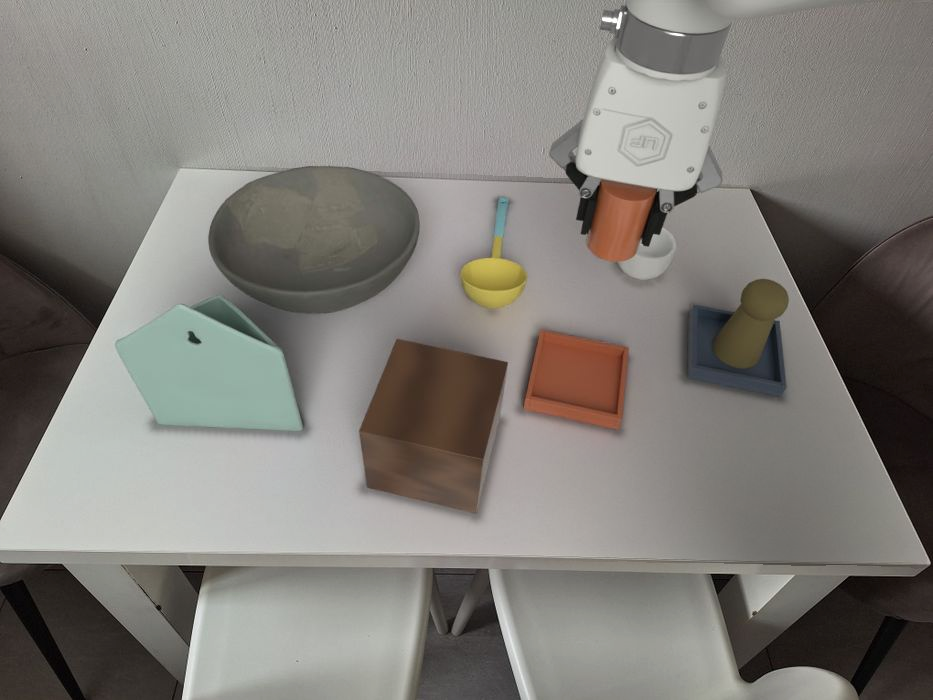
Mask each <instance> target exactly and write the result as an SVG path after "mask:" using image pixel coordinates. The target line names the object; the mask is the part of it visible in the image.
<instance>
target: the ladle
mask: <svg viewBox="0 0 933 700" xmlns="http://www.w3.org/2000/svg"><path fill="white" fill-rule="evenodd" d="M509 201H510V199H509V198H508V197H505V196H501V197H499V198H498V202H497V208H496V214H495V223H494V230H493V242H492V250H491V257H482V258H477V259H473V260H472V261H469V262H467V263H466V264H465V265H463V266H462V268H461V270H460V273H459V275H460V281H461V287H462V288H463V290H464V292H465V294H466V295H467V296H468V298H469V299H470V300H472V301H473V302H475V304H477V305H479V306H481V307H484V308H489V309H500V308H503V307H504V308H505V307H506V306H508V305H510V304H512V303H514V302H515V301H516V300H517V299H518V298H519V297H520V296H521V294H523V292H524V289H525V288H526V284H527V280H528V273H527V271H526V269H524V267H523V266H522V265H520V264H518V263H516V262H515V261H511V260H509V259H505V258H501V253H502V245H503V239H504V234H505V227H506V220H507V215H508V208H509Z"/></svg>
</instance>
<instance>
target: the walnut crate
mask: <svg viewBox="0 0 933 700" xmlns="http://www.w3.org/2000/svg"><path fill="white" fill-rule="evenodd" d="M508 366H509V362H508V361H504V360H501V359H496V358H491V357H486V356H481V355H476V354H471V353H468V352H462V351H457V350H453V349H448V348H444V347H439V346H434V345H429V344H425V343H420V342H415V341H410V340H405V339H401V338H396V340H395V341H394V344H393V347H392V349H391V352H390V354H389V356H388V359H387V361H386V363H385V366H384V368H383V372H382V373H381V376H380V379H379V381H378V383H377V386H376V388H375V391H374V393H373V395H372V398H371V401H370V403H369V405H368V407H367V411H366V412H365V414H364V415H365V416H364V418H363V420H362V423H361V425H360V427H359V430H358V434H359V440H360V447H361V455H362V462H363V469H364V477H365V483H366V487H367V489H372V490H377V491H380V492H383V493H384V492H385V493H389V494H393V495H397V496H400V497H401V496H402V497H404V498H410V499H414V500H418V501H422V502H426V503H431V504H434V505H439V506H443V507H447V508H452V509H455V510H460V511H463V512H468V513H472V514H477V513H478V510H479V506H480V502H481V501H480V500H481V497H482V493H483V489H484V485H485V480H486V478H487V473H488V468H489V465H490V461H491V456H492V452H493V448H494V444H495V440H496V435H497V433H498V428H499V424H500V418H501V412H502V405H503V398H504V393H505V384H506V378H507V374H508V373H507V372H508Z"/></svg>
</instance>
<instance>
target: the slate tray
mask: <svg viewBox="0 0 933 700" xmlns="http://www.w3.org/2000/svg"><path fill="white" fill-rule="evenodd" d="M734 312H735V311H731V310H725V309H720V308H715V307H710V306H705V305H700V304H692V305H691V308H690V310H689V312H688V321H687V322H688V324H687V368H686V369H687V372H686V373H687V374H686V375H687V376H686V377H687V379H690V380H694V381H699V382H705V383H709V384H715V385H720V386H723V387H727V388H728V387H729V388H732V389H733V388H734V389H739V390H744V391H746V392H747V391H749V392H752V393H757V394H763V395H767V396H773V397H778V398H780V397H781V395H782V394H783V393H784V391H785V390H786V389H787V378H786V369H785V360H784V349H783V340H782V331H781V321H780V320H776V319H775V320H774V323H773V325H772V328H771V331H770V333H769V336H768V338H767V341H766V344H765V346H764V349H763V351H762V354H761V357H760V359H759V361H758V362H757V364H756V365H754V366H752V367H750V368H744V369H743V368H735V367H732V366H729V365H727V364H726V363H724V362H722V361H721V360H720V359H719V358H718V357H717V356H716V355H715V353H714V351H713V348H712V343H713V340H714V338H715V337H716V336H717V334H718V333H719V332H720V331H721V329H722V328H723V327H724V325H725V324H726V323H727V321H728V320H729V319H730V318H731V316H732V315H733V314H734Z"/></svg>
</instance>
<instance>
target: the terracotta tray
mask: <svg viewBox="0 0 933 700" xmlns="http://www.w3.org/2000/svg"><path fill="white" fill-rule="evenodd" d="M629 351H630V347H629V346H623V345H618V344H614V343H608V342H603V341H598V340H593V339H589V338H584V337H580V336H575V335H569V334H565V333H560V332H555V331H550V330H544V329H540V330H539V336H538V339H537V344H536V348H535V353H534V357H533V362H532V367H531V371H530V376H529V380H528V385H527V388H526V392H525V398H524V403H523V407H522V408H523V410H525V411H529V412H535V413H539V414H544V415H548V416H554V417H558V418H562V419H566V420H572V421H576V422H580V423H585V424H590V425H594V426H598V427H604V428H607V429H613V430H619V428H620V425H621V423H622V420H623V412H624V402H625V394H626V393H625V392H626V381H627V374H628V373H627V370H628V361H629V353H630V352H629Z"/></svg>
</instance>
